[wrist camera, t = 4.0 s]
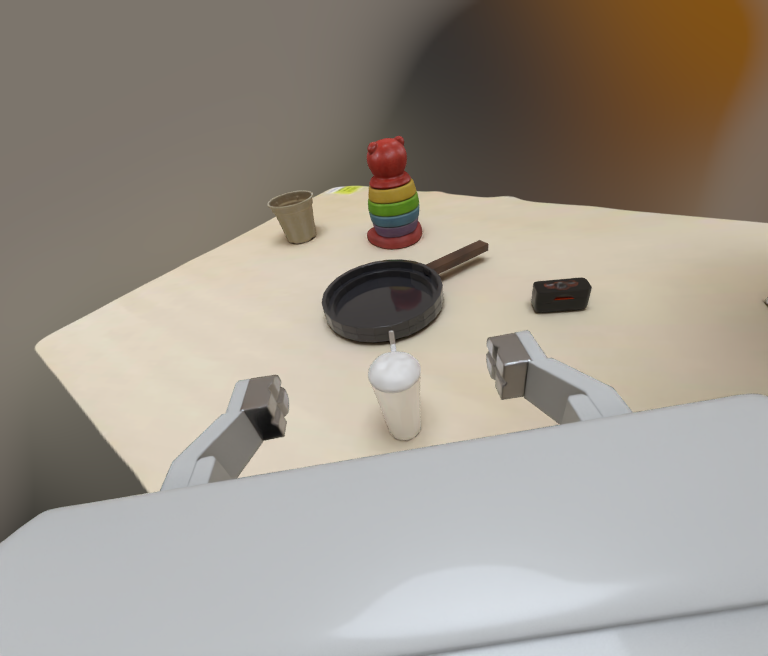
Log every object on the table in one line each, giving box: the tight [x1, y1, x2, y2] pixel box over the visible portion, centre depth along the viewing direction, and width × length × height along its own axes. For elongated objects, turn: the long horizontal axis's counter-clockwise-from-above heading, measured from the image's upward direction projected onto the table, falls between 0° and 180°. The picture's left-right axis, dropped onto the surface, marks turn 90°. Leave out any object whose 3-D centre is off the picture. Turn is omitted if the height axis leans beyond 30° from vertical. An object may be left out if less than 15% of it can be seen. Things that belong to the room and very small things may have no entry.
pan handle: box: [423, 240, 488, 276], centre depth 55 cm, size 12×2×1 cm, turn 121°
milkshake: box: [368, 331, 421, 441], centre depth 33 cm, size 5×5×10 cm
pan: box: [322, 260, 443, 342], centre depth 51 cm, size 17×17×3 cm
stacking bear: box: [367, 136, 422, 249], centre depth 64 cm, size 11×10×18 cm
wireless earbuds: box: [531, 278, 592, 313], centre depth 46 cm, size 5×7×3 cm, turn 85°
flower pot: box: [268, 191, 316, 244], centre depth 75 cm, size 9×9×9 cm
